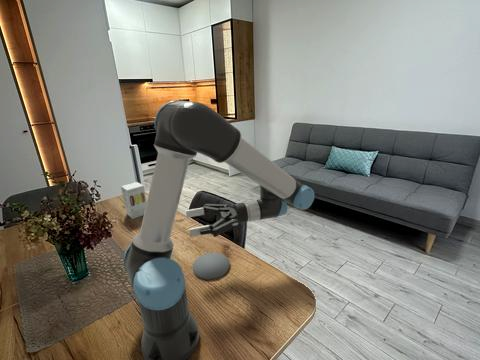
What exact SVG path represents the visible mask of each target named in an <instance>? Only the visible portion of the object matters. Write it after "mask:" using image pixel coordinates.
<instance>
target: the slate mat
mask: <svg viewBox="0 0 480 360" xmlns="http://www.w3.org/2000/svg"><path fill="white" fill-rule="evenodd" d="M229 269H230V260H229V257H228V256H226V255H225V254H223V253H220V252H207V253H205V254H202V255H200V256H198V257H197V258H196V259H195V260H194V261H193V263H192V272H193V274H194V275H195V276H196V277H197V278H199V279H202V280H215V279H218V278H221V277H222V276H224V275H225V274H226V273H227V272H228V270H229Z"/></svg>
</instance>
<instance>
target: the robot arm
mask: <svg viewBox="0 0 480 360" xmlns="http://www.w3.org/2000/svg"><path fill="white" fill-rule="evenodd" d="M154 127H155V131H156V135H155V139H154V144H153V146H154V148H155V150H156V152H157V156H156V161H155V166H154V169H153V174H152V179H151V182H150V187H149V190H148V195H147V198H146V201H147V204H146V208H145V212H144V215H143V218H142V222H141V227H140V230H139V233H137V234H136V235H134V236H133V238H132V239H131V240H132V241H131V243H130V244H129V245H128V246H127V248H126V249H125V251H124V255H123V267H124V271H125V273H126V274H127V277H128V280H129V283H130V286H131V288H132V291H133V294H134V296H135V299H136V303H137V306H138V309H139V313H140V316H141V320H142V325H143V329H142V330H143V331H142V336H141V341H140V342H141V343H140V348H141V351H142V352H141V353H142V355H143V359H144V360H186V359H187V360H188V359H189V358H190V357H192V355H193V354H194V352H195V351H196V349H197V346H198V345H199V340H200V330H199V325H198V323H197V320H196V319H195V318H194V316H193V315H192V313H191V312H190V309H189V303H188V302H189V301H188V296H187V288H186V278H185V274H184V272H183V269H182V267H181V266H180V264H179V263H178V262H177V261H176V260H174V259H173V260H172V259H170V258H171V254H172V251H173V249H174V245H175V244H174V241H173V240H172V238H171V235H172V231H173V228H174V223H175V219H176V216H177V212H178V207H179V203H180V199H181V195H182V192H183V188H184V183H185V180H186V175H187V172H188V167H189V165H190V161H191V160H192V159H194V158H196V157H197V155H198V154H201V155H203V156H205V157H207V158H209V159H211V160H212V161H215V162H216V163H219V164H222V163H225V164H226V165H228V166H230V167H231V168H232V169H234V170H236V171H238V173H241V174H242V175H244V176H246V177H247V178H249V179H250V180H252V181H253V182H255V183H256V184H258V185H259V192H260V195H259V196H260V199H253V200H249V201H244V202H237V203H234V204H233V206H232V207H230V204H229V203H225V204H221V203H219V204H218V203H205V204H204V205H203V207H199V208H191V209H186V210H185V213H186V214H185V215H186V218H188V219H189V218H192V217H199V216H206V215H214V216H218V217H219V218H220V219H219V220H217V221H216V222H214V223H212V224H206V225H203V226H196V227H191V228H189V229H188V231H189V237H190V238H192V237H193V238H194V237H198V236H205V235H213V236H212V237H214V238H216V237H218V236H220V235H221V234H224V233H225V232H228V231H231V230H232V229H234V228H237V227H239V225H241V224H245V223H248V222H250V223H251V222H255V221H262V220H267V219H272V218H278V217H281V216H285V215H286V214H287V213H288V205H290V206H292V207H294V208H297V209H299V210H302V211H303V210H307V209H309V208H310V207H311V206H312V204H313V202H314V200H315V191H314V190H313V189H312V187H309V186H308V185H306V184H302V183H301V182H299V181H298V180H296V179H295V178H294V177H292V176H291V175H290V174H289V173H287V172H286V171H285V170H283V169H282V168H281V167H280V166H279V165H277V164H276V163H275V162H273V161H272V160H270V159H269V158H268V157H267V156H265V154H263V153H262V152H261V151H259V150H258V149H257V148H256V147H254V146H253V145H252V144H250V143H249V142H248V141H247V140H245V139H244V138H243V137H242V133H241V131H240V129H238V128H237V127H235V126H234V125H233V124H231V123H230V122H229V121H228V120H227V119H226V118H224V117H223V116H222V115H221V114H220V113H218V112H217V111H216V110H215V109H213V108H212V107H210V106H209V105H207V104H204V103H203V102H199V101H189V100H188V101H187V100H181V99H180V100H172V101H169V102H166V103H165V104H163V105H161V107H160V108H159V109H158V110H157V112H156V114H155V115H154Z"/></svg>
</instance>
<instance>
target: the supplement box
mask: <svg viewBox="0 0 480 360" xmlns="http://www.w3.org/2000/svg"><path fill="white" fill-rule="evenodd" d="M120 190H121V194H122V199H123V203H124V206H125V207H124V208H125V212H126V215H127V216H129V217H130V218H131V220H134V219H137V218H140V217H142V216H143V217H144V212H145V208H146V204H147V197H146V196H147V195H146V191H145V186H144V184H142V183H140V182H138V181H135V182H132V183H129V184H125V185H120Z"/></svg>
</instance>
